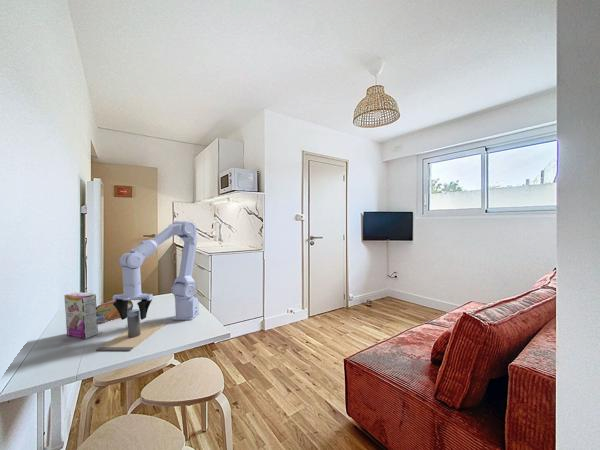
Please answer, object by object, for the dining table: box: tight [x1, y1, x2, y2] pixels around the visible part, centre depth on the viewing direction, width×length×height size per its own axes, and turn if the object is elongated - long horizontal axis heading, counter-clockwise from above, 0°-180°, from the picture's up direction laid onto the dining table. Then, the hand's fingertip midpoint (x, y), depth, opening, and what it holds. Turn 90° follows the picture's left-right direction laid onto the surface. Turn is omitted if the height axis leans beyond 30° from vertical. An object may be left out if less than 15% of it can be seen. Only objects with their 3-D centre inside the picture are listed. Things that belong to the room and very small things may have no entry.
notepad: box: [96, 323, 166, 352], centre depth 97 cm, size 12×21×1 cm, turn 177°
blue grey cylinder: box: [126, 308, 141, 338], centre depth 97 cm, size 4×4×10 cm
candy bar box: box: [63, 291, 99, 340], centre depth 98 cm, size 11×5×16 cm, turn 71°
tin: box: [96, 300, 134, 324], centre depth 115 cm, size 15×3×8 cm, turn 148°
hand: (133, 318), depth 97 cm, fingers open, 7 cm apart
